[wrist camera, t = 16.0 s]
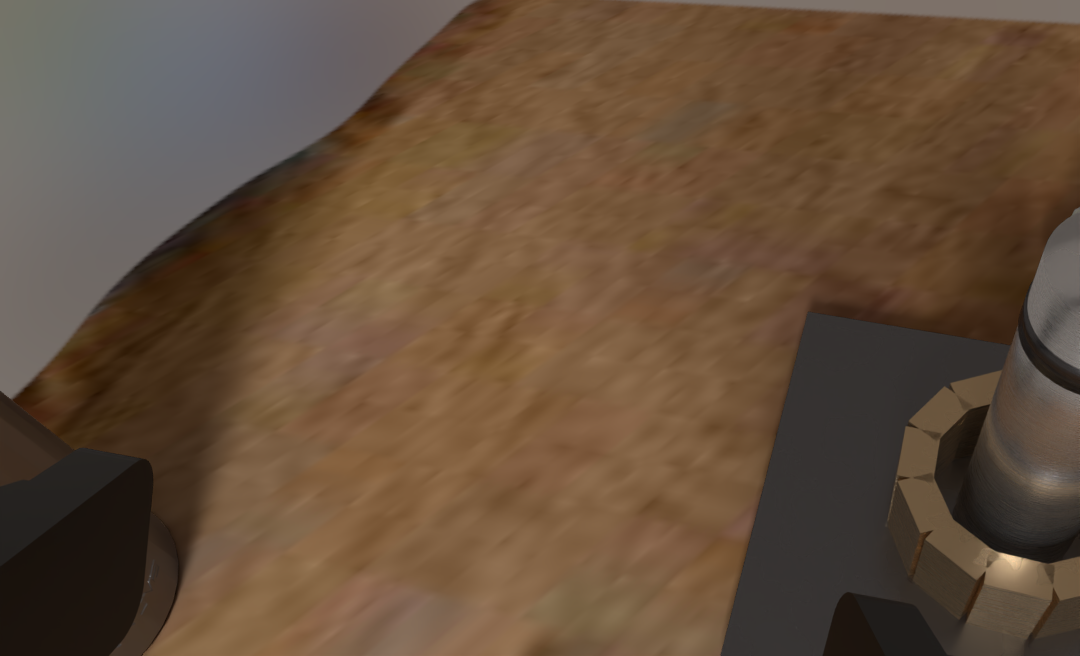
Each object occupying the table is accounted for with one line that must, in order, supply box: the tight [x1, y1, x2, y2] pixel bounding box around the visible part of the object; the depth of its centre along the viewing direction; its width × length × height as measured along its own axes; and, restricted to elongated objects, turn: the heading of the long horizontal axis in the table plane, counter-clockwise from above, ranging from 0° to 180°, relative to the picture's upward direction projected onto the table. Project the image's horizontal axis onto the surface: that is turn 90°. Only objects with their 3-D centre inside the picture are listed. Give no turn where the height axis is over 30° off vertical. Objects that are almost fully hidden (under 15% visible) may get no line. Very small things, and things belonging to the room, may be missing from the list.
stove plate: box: [721, 312, 1080, 656], centre depth 36 cm, size 18×16×6 cm
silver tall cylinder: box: [953, 212, 1080, 564], centre depth 31 cm, size 4×4×16 cm
